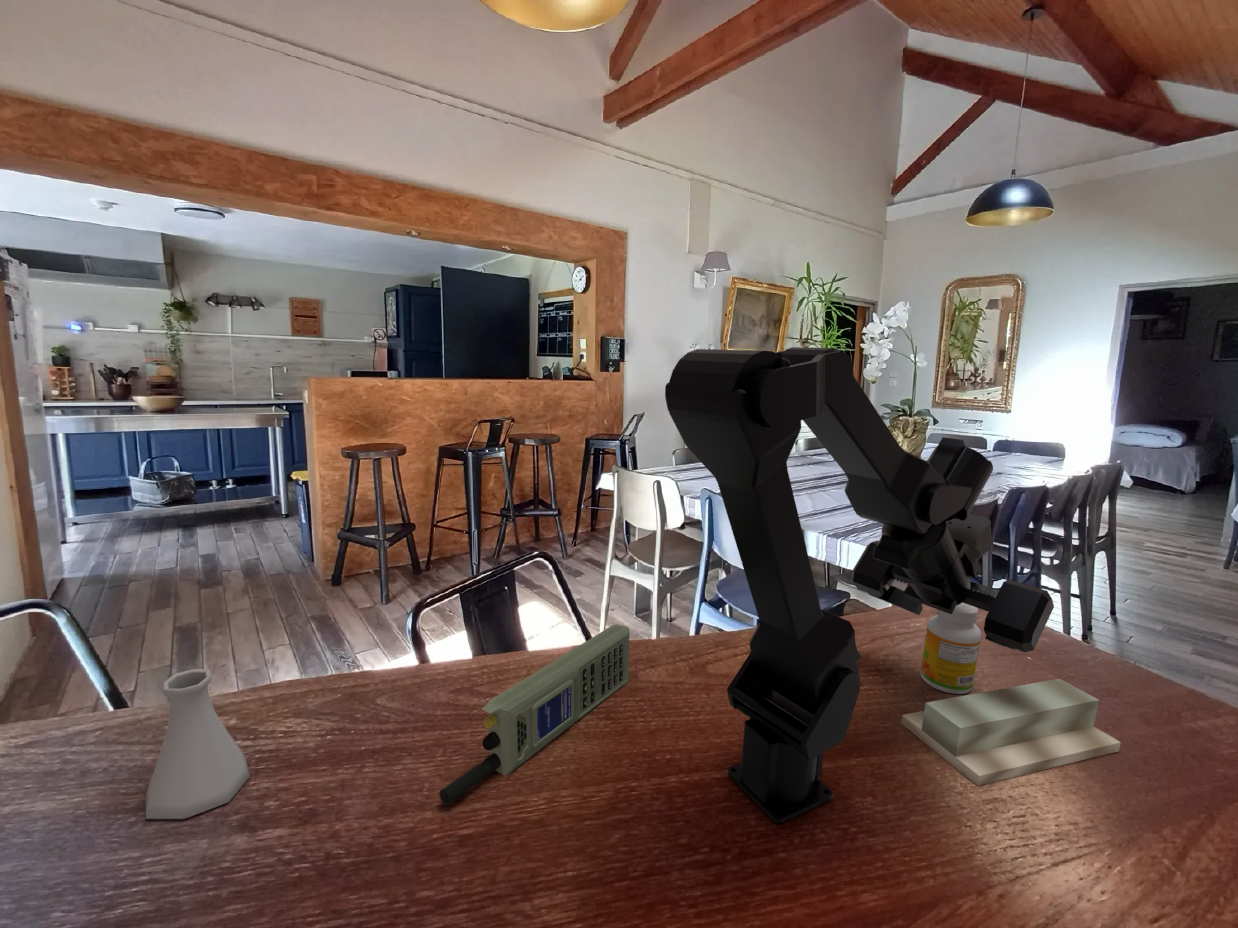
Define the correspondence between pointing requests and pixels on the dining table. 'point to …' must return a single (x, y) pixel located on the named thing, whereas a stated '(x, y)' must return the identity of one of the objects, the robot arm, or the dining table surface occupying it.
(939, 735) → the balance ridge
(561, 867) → the dining table surface
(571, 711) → the handheld radio
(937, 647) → the supplement bottle
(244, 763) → the flask
